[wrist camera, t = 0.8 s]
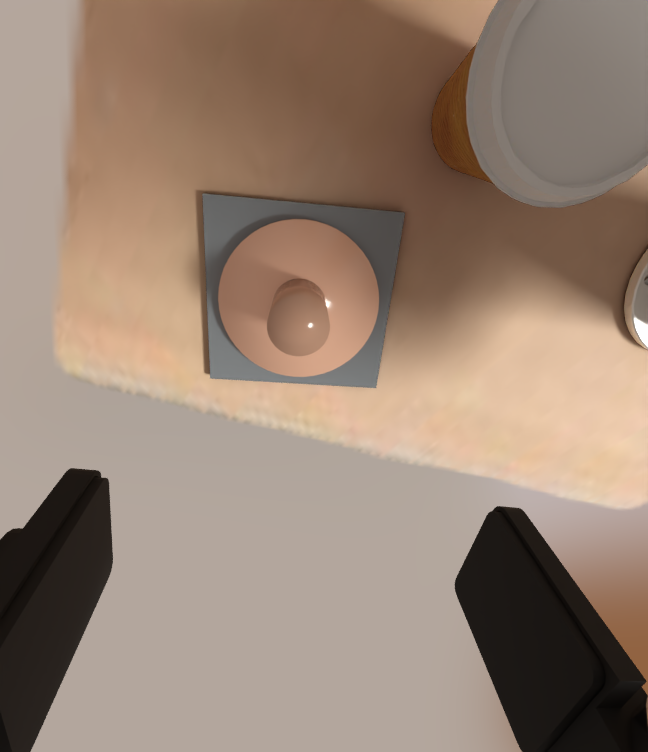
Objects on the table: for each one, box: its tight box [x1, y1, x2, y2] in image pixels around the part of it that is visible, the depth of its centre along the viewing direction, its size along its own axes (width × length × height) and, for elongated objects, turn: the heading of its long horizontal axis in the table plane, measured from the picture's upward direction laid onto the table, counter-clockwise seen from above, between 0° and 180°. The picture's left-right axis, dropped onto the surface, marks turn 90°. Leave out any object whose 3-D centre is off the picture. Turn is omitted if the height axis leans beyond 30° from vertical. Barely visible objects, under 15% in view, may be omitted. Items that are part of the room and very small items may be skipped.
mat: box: [202, 193, 405, 388], centre depth 30 cm, size 14×14×1 cm
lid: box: [218, 219, 379, 377], centre depth 28 cm, size 12×12×6 cm
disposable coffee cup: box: [432, 0, 648, 208], centre depth 21 cm, size 10×10×12 cm
